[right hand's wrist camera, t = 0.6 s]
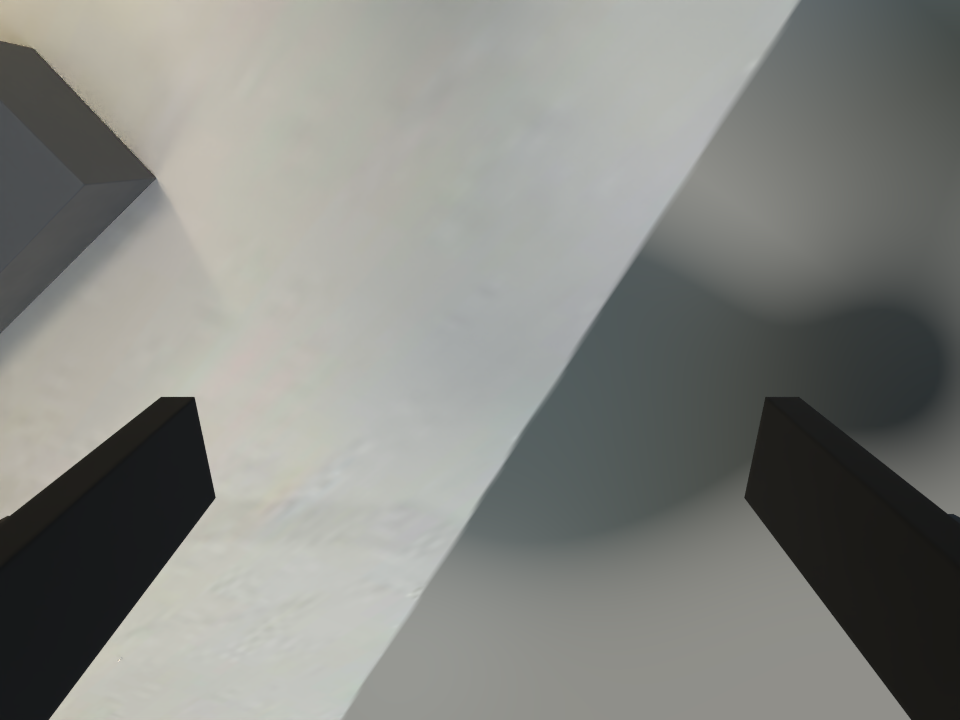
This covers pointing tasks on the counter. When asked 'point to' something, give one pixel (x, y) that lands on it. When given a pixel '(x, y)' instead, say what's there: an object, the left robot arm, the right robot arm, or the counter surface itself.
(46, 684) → the right robot arm
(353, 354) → the counter surface
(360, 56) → the counter surface
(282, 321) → the counter surface
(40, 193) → the thick board
